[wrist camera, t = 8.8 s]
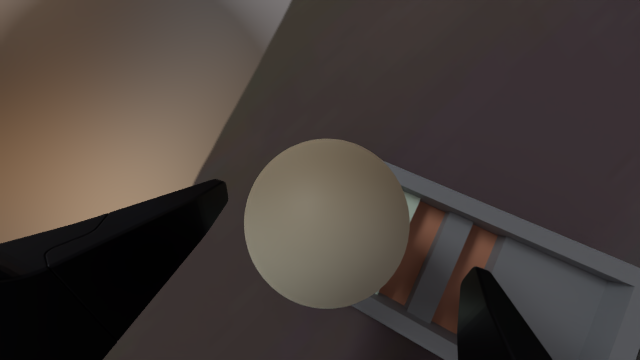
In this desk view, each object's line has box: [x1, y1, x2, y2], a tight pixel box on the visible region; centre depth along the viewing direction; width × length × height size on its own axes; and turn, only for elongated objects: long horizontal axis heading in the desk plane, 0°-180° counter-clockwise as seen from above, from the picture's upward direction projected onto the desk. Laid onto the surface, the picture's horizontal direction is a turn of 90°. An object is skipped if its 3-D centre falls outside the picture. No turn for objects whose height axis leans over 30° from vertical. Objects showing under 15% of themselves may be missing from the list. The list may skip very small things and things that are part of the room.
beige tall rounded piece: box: [244, 139, 410, 309], centre depth 12 cm, size 4×4×12 cm
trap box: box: [351, 161, 640, 360], centre depth 16 cm, size 9×19×3 cm, turn 64°
